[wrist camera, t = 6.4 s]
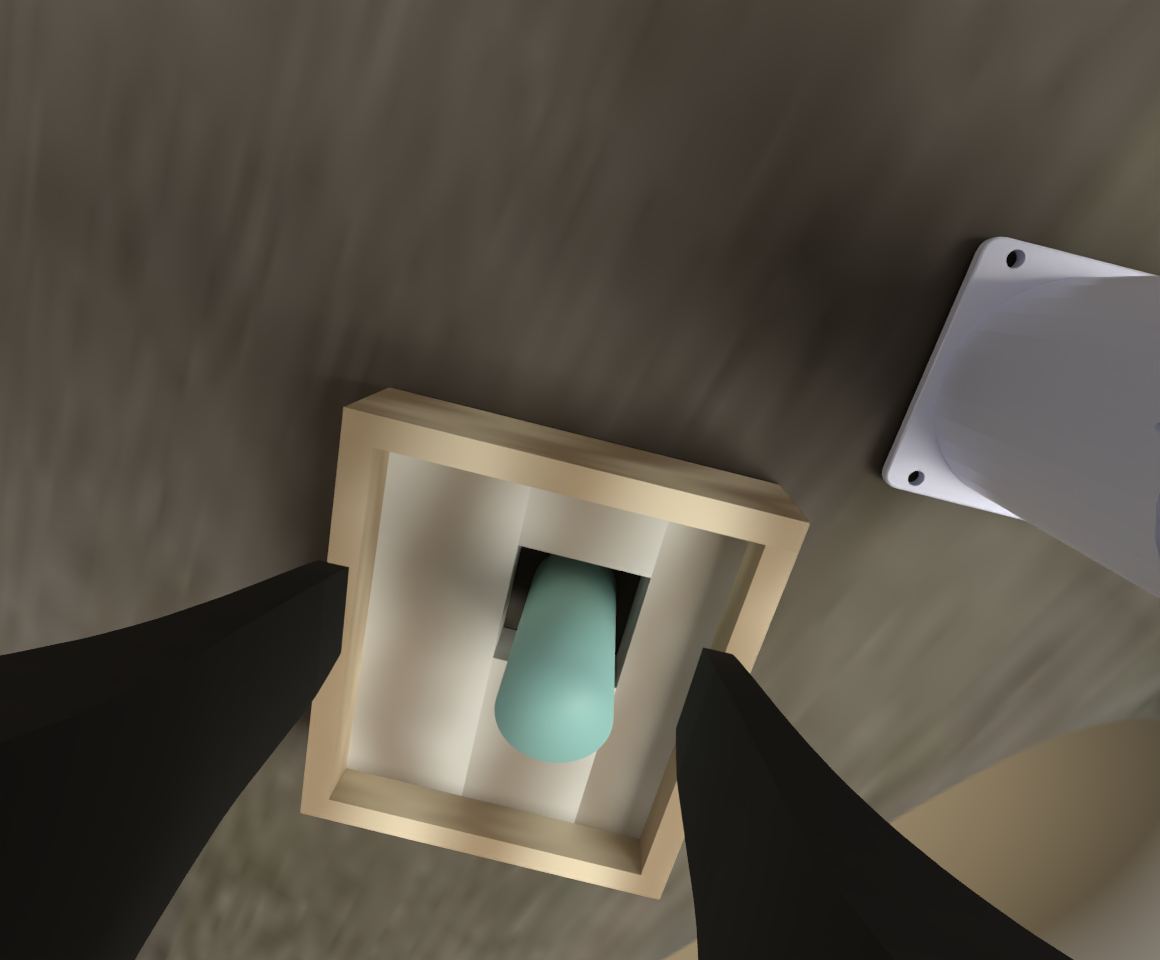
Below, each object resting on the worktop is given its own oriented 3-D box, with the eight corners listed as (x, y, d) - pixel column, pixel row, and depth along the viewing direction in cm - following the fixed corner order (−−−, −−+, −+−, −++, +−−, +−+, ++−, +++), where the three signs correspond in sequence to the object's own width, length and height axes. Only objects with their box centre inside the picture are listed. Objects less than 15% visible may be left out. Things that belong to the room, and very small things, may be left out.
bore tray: (779, 484, 20) (810, 523, 17) (654, 820, 26) (659, 899, 22) (389, 387, 20) (343, 406, 17) (342, 744, 25) (300, 812, 22)
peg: (615, 548, 22) (612, 665, 15) (616, 623, 23) (614, 764, 16) (530, 548, 22) (489, 663, 15) (535, 623, 23) (499, 761, 16)
